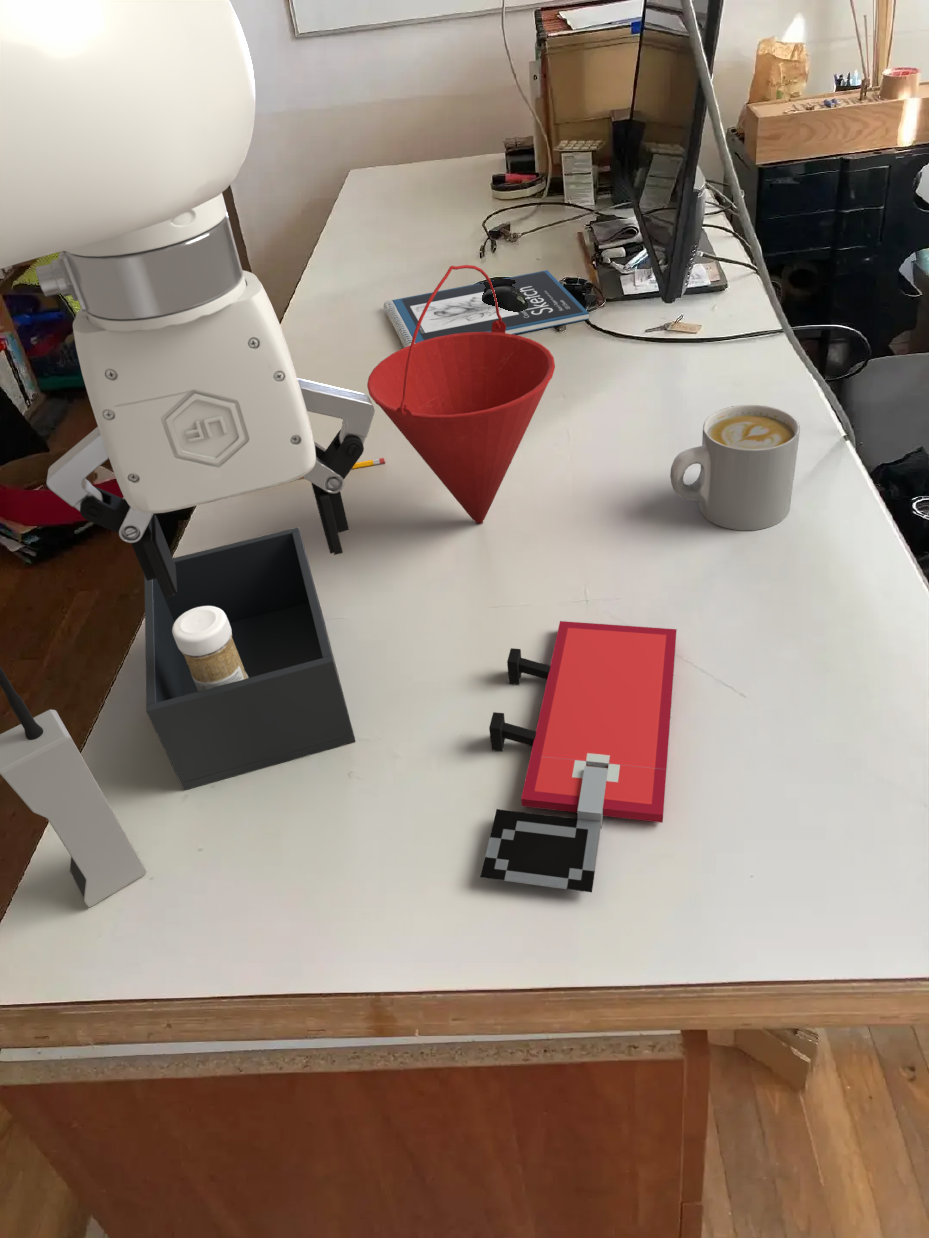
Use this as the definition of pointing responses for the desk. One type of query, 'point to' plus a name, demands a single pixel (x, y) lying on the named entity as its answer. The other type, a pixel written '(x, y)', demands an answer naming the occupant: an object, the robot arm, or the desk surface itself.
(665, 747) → the red board with handle
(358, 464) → the pencil
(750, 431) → the coffee mug
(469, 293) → the sketchbook
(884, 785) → the desk surface
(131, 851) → the vintage mobile phone
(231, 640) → the sprinkles bottle
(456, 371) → the fire bucket
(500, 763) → the desk surface
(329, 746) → the wastebin
